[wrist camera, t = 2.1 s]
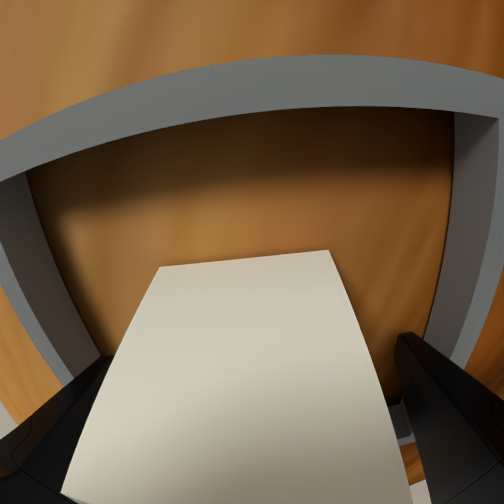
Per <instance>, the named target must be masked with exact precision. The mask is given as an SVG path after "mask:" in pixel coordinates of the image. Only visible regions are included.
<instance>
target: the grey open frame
mask: <svg viewBox="0 0 504 504" xmlns="http://www.w3.org/2000/svg"><path fill="white" fill-rule="evenodd" d="M332 106H389V107H410V108H425V109H436V110H446V111H454V121H455V151H454V175H453V189H452V200H451V210H450V218H449V226H448V233H447V240H446V246H445V252H444V257H443V263H442V268H441V273H440V277H439V282H438V287H437V291H436V295H435V299H434V303H433V307H432V311H431V315H430V318H429V322H428V325H427V329H426V332H425V336H424V339H423V340H424V341H426V342H427V343H428V344H430V345H431V346H432V347H434V348H435V349H437V350H438V351H439V352H441V353H442V354H443V355H445V356H446V357H447V358H449V359H450V360H451V361H453V362H454V363H455V364H457V365H458V366H459V367H460V368H462V369H463V370H464V368H465V366H466V364H467V362H468V360H469V358H470V355H471V353H472V351H473V349H474V347H475V344H476V342H477V340H478V337H479V335H480V333H481V330H482V328H483V325H484V323H485V320H486V318H487V315H488V312H489V309H490V307H491V304H492V301H493V298H494V295H495V292H496V289H497V286H498V283H499V279H500V276H501V273H502V269H503V265H504V79H502V78H499V77H495V76H491V75H488V74H484V73H480V72H476V71H472V70H468V69H463V68H459V67H454V66H449V65H443V64H438V63H432V62H425V61H418V60H411V59H402V58H393V57H381V56H365V55H298V56H282V57H270V58H260V59H251V60H243V61H236V62H229V63H222V64H216V65H211V66H205V67H200V68H195V69H190V70H185V71H181V72H176V73H172V74H168V75H164V76H160V77H156V78H153V79H149V80H145V81H142V82H138V83H135V84H132V85H128V86H125V87H122V88H119V89H116V90H113V91H110V92H107V93H104V94H101V95H99V96H96V97H93V98H90V99H88V100H85V101H83V102H80V103H78V104H75V105H73V106H70V107H68V108H65V109H63V110H61V111H59V112H56V113H54V114H52V115H50V116H48V117H45V118H43V119H41V120H39V121H37V122H35V123H33V124H31V125H29V126H27V127H25V128H23V129H21V130H19V131H17V132H16V133H14V134H12V135H10V136H8V137H6V138H5V139H3V140H1V141H0V283H1V285H2V287H3V289H4V291H5V293H6V295H7V297H8V299H9V301H10V303H11V305H12V307H13V309H14V310H15V312H16V314H17V316H18V318H19V319H20V321H21V323H22V325H23V326H24V328H25V330H26V331H27V333H28V335H29V336H30V338H31V340H32V341H33V343H34V344H35V346H36V348H37V349H38V351H39V352H40V354H41V355H42V357H43V358H44V360H45V361H46V363H47V364H48V365H49V367H50V368H51V370H52V371H53V373H54V374H55V375H56V377H57V378H58V379H59V381H60V382H61V383H62V385H63V386H64V387H65V386H66V385H67V384H68V383H69V382H70V381H72V380H73V379H74V378H75V377H76V376H78V375H79V374H80V373H81V372H82V371H83V370H85V369H86V368H87V367H88V366H89V365H91V364H92V363H93V362H94V361H95V360H97V359H98V358H99V357H100V356H101V355H100V353H99V351H98V349H97V348H96V346H95V344H94V342H93V341H92V339H91V337H90V335H89V333H88V332H87V330H86V328H85V326H84V324H83V322H82V320H81V318H80V316H79V314H78V312H77V310H76V308H75V306H74V304H73V302H72V300H71V298H70V296H69V294H68V291H67V289H66V287H65V285H64V283H63V280H62V278H61V276H60V273H59V271H58V269H57V266H56V264H55V261H54V259H53V256H52V254H51V251H50V249H49V246H48V243H47V241H46V238H45V235H44V232H43V230H42V227H41V224H40V221H39V218H38V215H37V212H36V209H35V205H34V202H33V199H32V195H31V192H30V188H29V185H28V181H27V177H26V173H25V171H26V170H28V169H31V168H33V167H36V166H39V165H41V164H44V163H46V162H49V161H52V160H54V159H57V158H60V157H63V156H66V155H68V154H71V153H74V152H77V151H80V150H83V149H86V148H90V147H93V146H96V145H99V144H103V143H106V142H110V141H113V140H117V139H120V138H124V137H128V136H131V135H135V134H139V133H143V132H147V131H152V130H156V129H160V128H165V127H169V126H174V125H179V124H184V123H189V122H194V121H200V120H206V119H212V118H218V117H224V116H231V115H238V114H246V113H254V112H262V111H272V110H282V109H295V108H310V107H332ZM387 408H388V411H389V415H390V418H391V421H392V425H393V428H394V431H395V435H396V438H397V442H398V445H399V446H402V445H405V444H409V443H412V442H416V441H415V437H414V434H413V431H412V427H411V424H410V421H409V418H408V414H407V411H406V408H405V405H404V402H403V397H402V400H401V402H400V404H397V405H393V406H388V407H387Z"/></svg>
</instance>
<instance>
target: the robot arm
mask: <svg viewBox="0 0 504 504" xmlns="http://www.w3.org/2000/svg"><path fill="white" fill-rule="evenodd" d="M114 357H115V356H114V355H109V354H104V355H101V356H100V357H99V358H98V359H97V360H95V361H94V362H93V363H92V364H91V365H89V366H88V367H87V368H86V369H85V370H83V371H82V372H81V373H80V374H79V375H78V376H76V377H75V378H74V379H73V380H72V381H70V382H69V383H68V384H67V385H66V386H65V387H63V388H62V389H61V390H60V391H59V392H58V393H56V394H55V395H54V396H53V397H52V398H50V399H49V400H48V401H47V402H46V403H45V404H43V405H42V406H41V407H40V408H39V409H38V410H36V411H35V412H34V413H33V414H32V415H31V416H29V417H28V418H27V419H26V420H25V421H24V422H22V423H21V424H20V425H19V426H18V427H16V428H15V429H14V430H13V431H11V432H10V433H9V434H7V435H6V436H5V437H3V438H2V439H0V504H79V503H77V502H75V501H73V500H72V499H70V498H68V497H67V496H65V495H63V494H62V493H61V490H62V486H63V483H64V480H65V477H66V475H67V472H68V469H69V466H70V463H71V460H72V458H73V455H74V452H75V449H76V447H77V444H78V441H79V439H80V436H81V434H82V431H83V429H84V426H85V423H86V421H87V419H88V416H89V414H90V411H91V409H92V406H93V404H94V402H95V399H96V397H97V395H98V392H99V390H100V388H101V385H102V383H103V381H104V379H105V376H106V374H107V372H108V370H109V367H110V365H111V363H112V361H113V359H114ZM394 361H395V365H396V370H397V374H398V379H399V383H400V388H401V393H402V397H403V402H404V405H405V408H406V411H407V414H408V418H409V421H410V424H411V427H412V431H413V434H414V437H415V441H416V444H417V448H418V451H419V455H420V458H421V462H422V466H423V470H424V474H425V478H426V482H427V485H428V490H429V494H430V498H431V503H432V504H504V401H503V400H502V399H501V398H499V397H498V396H497V395H496V394H494V393H492V392H491V391H490V390H489V389H488V388H487V387H485V386H484V385H483V384H481V383H480V382H479V381H477V380H476V379H475V378H474V377H472V376H471V375H470V374H468V373H467V372H466V371H464V370H463V369H462V368H460V367H459V366H458V365H457V364H455V363H454V362H453V361H451V360H450V359H449V358H447V357H446V356H445V355H443V354H442V353H441V352H439V351H438V350H437V349H435V348H434V347H432V346H431V345H430V344H428V343H427V342H426V341H424V340H423V339H422V338H420V337H419V336H418V335H416V334H415V333H413V332H411V331H410V332H405V333H400V334H399V335H398V338H397V342H396V346H395V350H394Z"/></svg>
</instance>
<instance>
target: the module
mask: <svg viewBox="0 0 504 504" xmlns="http://www.w3.org/2000/svg"><path fill="white" fill-rule="evenodd" d="M61 493H62V494H63V495H65V496H67V497H68V498H70V499H72V500H73V501H75V502H77V503H79V504H413V501H412V497H411V493H410V488H409V484H408V480H407V476H406V472H405V468H404V464H403V460H402V456H401V453H400V449H399V445H398V442H397V438H396V435H395V431H394V428H393V425H392V421H391V418H390V415H389V411H388V408H387V405H386V402H385V399H384V396H383V392H382V389H381V386H380V383H379V380H378V377H377V374H376V371H375V368H374V366H373V363H372V360H371V357H370V354H369V351H368V349H367V346H366V343H365V340H364V337H363V335H362V332H361V329H360V327H359V324H358V321H357V319H356V316H355V314H354V311H353V308H352V306H351V303H350V301H349V298H348V296H347V293H346V291H345V288H344V286H343V283H342V281H341V278H340V276H339V273H338V271H337V269H336V266H335V264H334V262H333V259H332V257H331V254H330V252H329V250H322V251H313V252H303V253H293V254H284V255H274V256H265V257H255V258H245V259H235V260H225V261H216V262H206V263H196V264H186V265H175V266H165V267H159V269H158V271H157V273H156V275H155V277H154V279H153V280H152V282H151V284H150V286H149V288H148V290H147V292H146V294H145V296H144V298H143V299H142V301H141V303H140V305H139V307H138V309H137V311H136V313H135V315H134V317H133V319H132V321H131V323H130V325H129V327H128V329H127V331H126V333H125V335H124V338H123V340H122V342H121V344H120V346H119V348H118V350H117V352H116V354H115V357H114V359H113V361H112V363H111V365H110V367H109V370H108V372H107V374H106V376H105V379H104V381H103V383H102V385H101V388H100V390H99V392H98V395H97V397H96V399H95V402H94V404H93V406H92V409H91V411H90V414H89V416H88V419H87V421H86V423H85V426H84V429H83V431H82V434H81V436H80V439H79V441H78V444H77V447H76V449H75V452H74V455H73V458H72V460H71V463H70V466H69V469H68V472H67V475H66V477H65V480H64V483H63V486H62V490H61Z"/></svg>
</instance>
